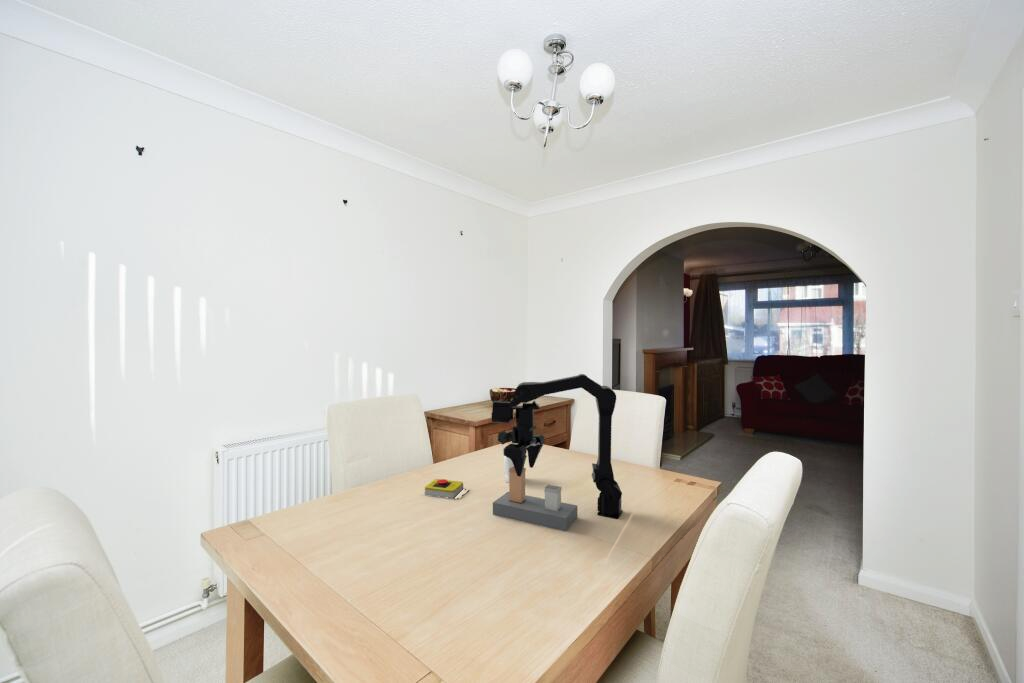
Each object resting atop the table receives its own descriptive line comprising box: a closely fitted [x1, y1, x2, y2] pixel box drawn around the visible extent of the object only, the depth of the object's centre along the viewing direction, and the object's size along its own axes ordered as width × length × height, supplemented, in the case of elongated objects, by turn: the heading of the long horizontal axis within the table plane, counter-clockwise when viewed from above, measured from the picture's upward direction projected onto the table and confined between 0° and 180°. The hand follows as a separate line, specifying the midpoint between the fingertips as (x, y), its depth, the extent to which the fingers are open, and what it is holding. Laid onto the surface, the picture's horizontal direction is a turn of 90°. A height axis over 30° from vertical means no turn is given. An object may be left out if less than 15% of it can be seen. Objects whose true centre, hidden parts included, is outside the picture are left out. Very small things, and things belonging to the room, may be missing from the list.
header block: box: [492, 491, 578, 532], centre depth 134 cm, size 24×10×4 cm, turn 63°
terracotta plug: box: [508, 466, 527, 503], centre depth 137 cm, size 4×3×10 cm
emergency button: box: [424, 478, 465, 499], centre depth 154 cm, size 9×4×15 cm
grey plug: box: [544, 484, 562, 511], centre depth 131 cm, size 4×3×10 cm
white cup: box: [503, 455, 514, 484], centre depth 165 cm, size 8×8×10 cm
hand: (525, 471), depth 138 cm, fingers open, 9 cm apart
